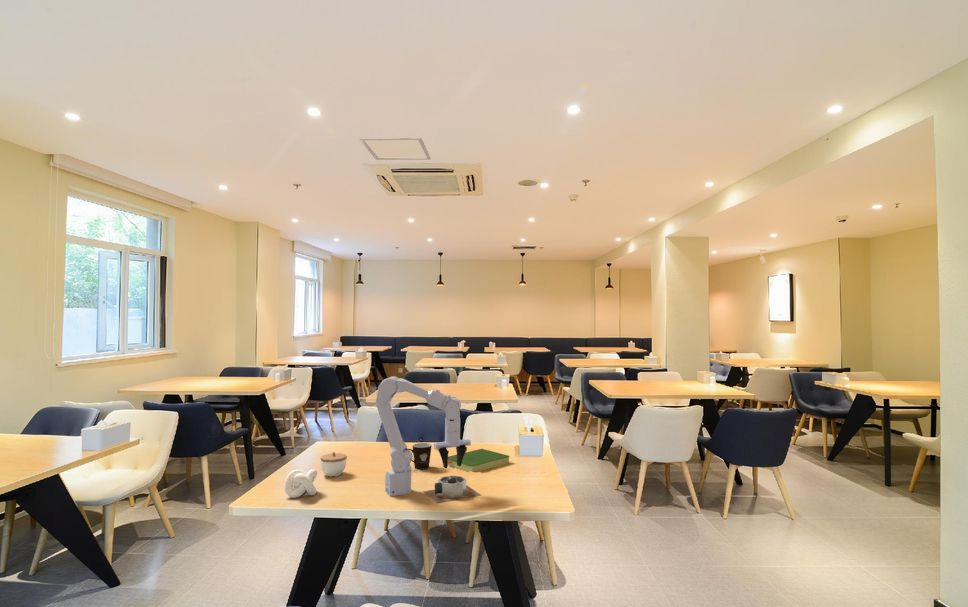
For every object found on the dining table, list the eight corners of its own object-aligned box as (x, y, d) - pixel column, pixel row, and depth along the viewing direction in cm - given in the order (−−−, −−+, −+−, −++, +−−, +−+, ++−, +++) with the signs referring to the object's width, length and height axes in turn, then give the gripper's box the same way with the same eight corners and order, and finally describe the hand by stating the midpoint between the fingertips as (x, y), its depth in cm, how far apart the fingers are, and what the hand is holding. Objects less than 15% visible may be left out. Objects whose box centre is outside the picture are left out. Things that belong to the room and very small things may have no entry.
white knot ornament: (282, 502, 170) (282, 476, 170) (286, 491, 181) (286, 467, 182) (315, 499, 173) (316, 474, 173) (317, 488, 184) (317, 465, 185)
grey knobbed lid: (447, 495, 173) (447, 482, 173) (439, 490, 179) (439, 476, 179) (464, 492, 176) (465, 479, 177) (456, 487, 183) (456, 474, 183)
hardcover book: (481, 456, 235) (482, 448, 236) (509, 464, 222) (509, 455, 222) (442, 466, 218) (443, 457, 218) (470, 475, 204) (470, 466, 205)
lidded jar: (319, 479, 196) (319, 456, 196) (321, 471, 206) (321, 450, 207) (346, 477, 199) (346, 454, 199) (346, 470, 209) (347, 448, 209)
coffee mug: (433, 465, 217) (433, 443, 218) (429, 470, 209) (429, 447, 209) (408, 464, 218) (408, 442, 219) (403, 469, 210) (403, 446, 210)
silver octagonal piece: (440, 500, 170) (440, 486, 170) (430, 492, 179) (430, 478, 179) (469, 495, 176) (469, 481, 176) (458, 487, 184) (458, 474, 185)
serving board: (437, 505, 167) (437, 503, 167) (422, 493, 179) (422, 491, 179) (481, 497, 176) (482, 495, 176) (465, 486, 188) (465, 484, 188)
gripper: (439, 434, 173) (438, 472, 172) (474, 430, 180) (474, 466, 179) (431, 430, 179) (431, 467, 178) (466, 427, 186) (465, 462, 185)
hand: (452, 466), depth 179 cm, fingers open, 5 cm apart
